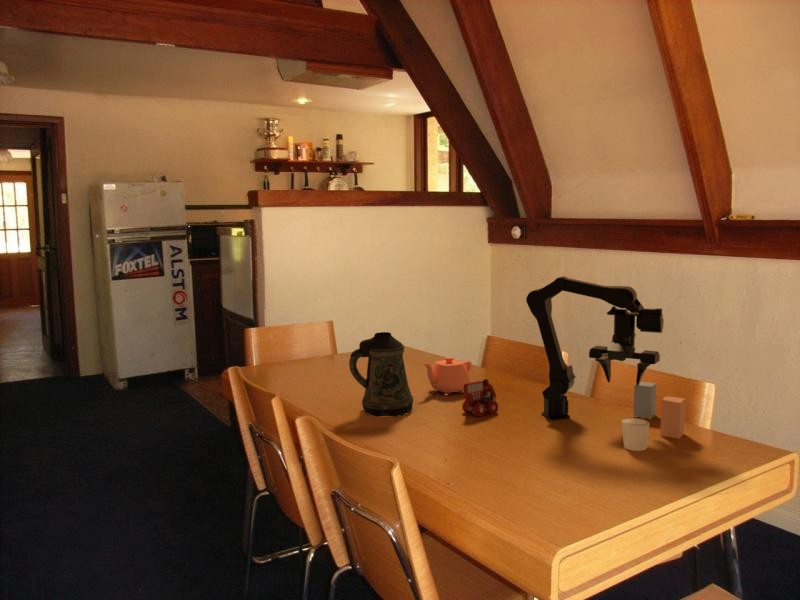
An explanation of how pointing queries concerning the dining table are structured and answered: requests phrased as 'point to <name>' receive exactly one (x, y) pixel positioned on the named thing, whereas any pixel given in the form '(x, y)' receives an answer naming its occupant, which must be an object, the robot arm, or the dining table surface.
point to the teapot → (448, 375)
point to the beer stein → (383, 376)
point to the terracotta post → (672, 417)
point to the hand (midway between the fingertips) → (623, 383)
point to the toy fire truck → (479, 398)
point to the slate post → (645, 399)
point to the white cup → (635, 433)
